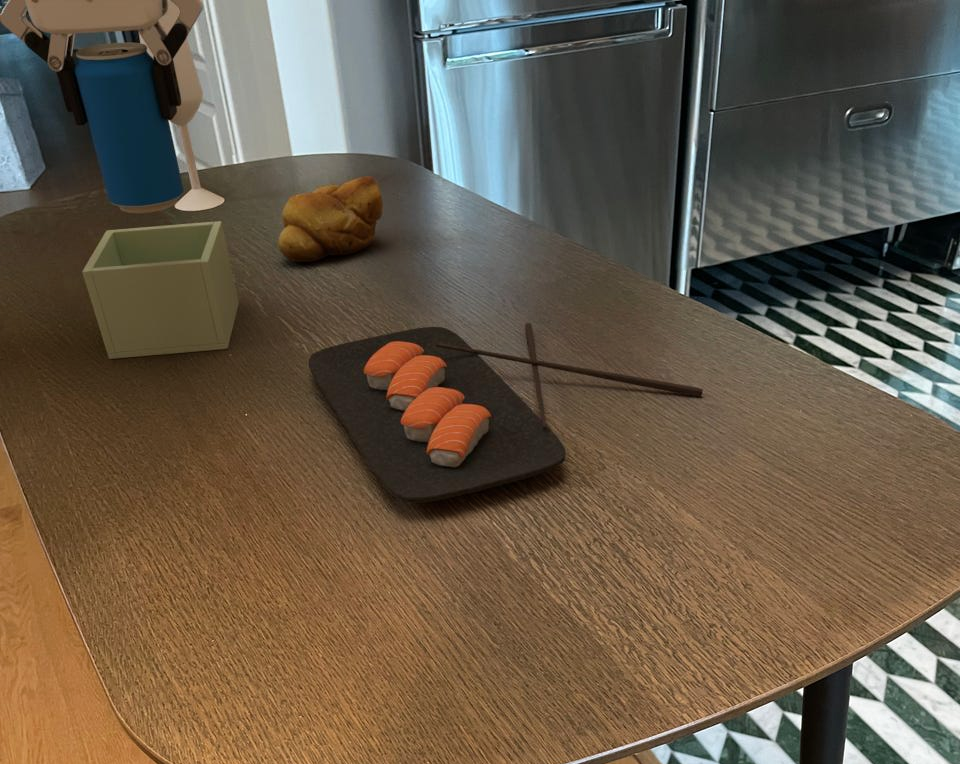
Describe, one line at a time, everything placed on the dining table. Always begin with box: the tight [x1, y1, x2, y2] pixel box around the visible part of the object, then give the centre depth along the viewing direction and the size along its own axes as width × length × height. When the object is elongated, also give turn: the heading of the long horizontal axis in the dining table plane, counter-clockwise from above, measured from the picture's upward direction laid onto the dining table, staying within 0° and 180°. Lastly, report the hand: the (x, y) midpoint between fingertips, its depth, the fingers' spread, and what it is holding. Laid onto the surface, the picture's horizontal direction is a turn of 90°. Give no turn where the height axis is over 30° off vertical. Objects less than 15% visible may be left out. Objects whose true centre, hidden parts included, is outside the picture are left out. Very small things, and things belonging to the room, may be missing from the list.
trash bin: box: [81, 220, 240, 360], centre depth 100 cm, size 12×12×9 cm
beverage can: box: [75, 42, 184, 214], centre depth 85 cm, size 6×6×12 cm
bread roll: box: [277, 176, 384, 262], centre depth 116 cm, size 13×10×8 cm
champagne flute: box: [138, 0, 225, 212], centre depth 128 cm, size 7×7×24 cm
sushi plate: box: [308, 323, 704, 504], centre depth 86 cm, size 29×30×4 cm
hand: (127, 116), depth 84 cm, fingers closed on beverage can, 6 cm apart
